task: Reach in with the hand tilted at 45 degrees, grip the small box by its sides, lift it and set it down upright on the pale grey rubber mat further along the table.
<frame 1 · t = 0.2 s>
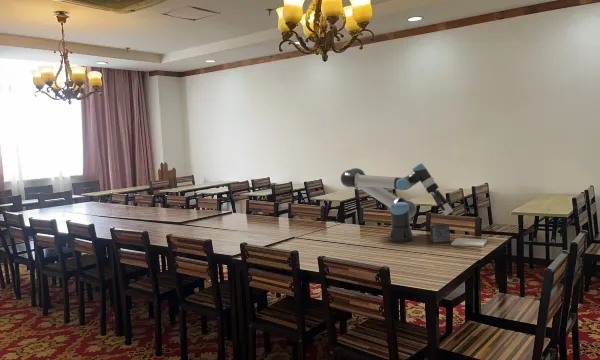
hand: (449, 213, 300), 15 cm above the table, tool tilted 30°, fingers open, 13 cm apart
mat: (469, 243, 283), on the table
small box: (440, 242, 291), on the table
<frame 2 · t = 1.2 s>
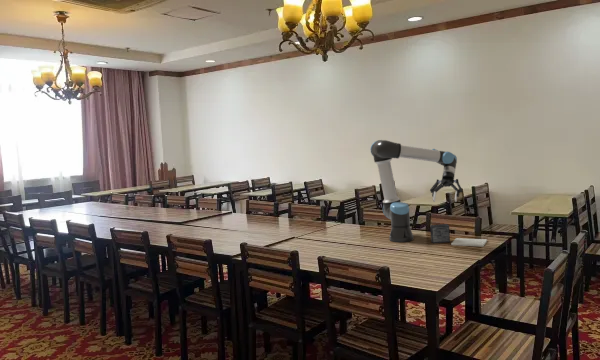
hand: (444, 200, 301), 23 cm above the table, tool tilted 45°, fingers open, 13 cm apart
nothing on the table moved.
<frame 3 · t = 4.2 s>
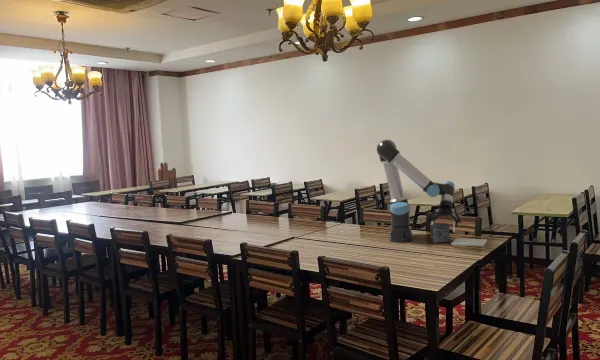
hand: (442, 231, 291), 6 cm above the table, tool tilted 45°, fingers open, 13 cm apart
small box: (440, 241, 291), on the table, touching gripper
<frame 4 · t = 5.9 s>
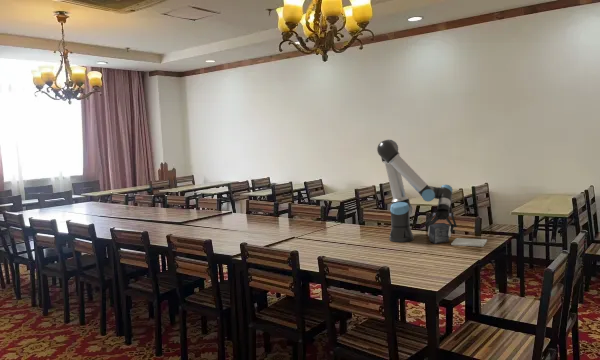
hand: (438, 235, 289), 4 cm above the table, tool tilted 45°, fingers closed on small box, 12 cm apart
small box: (438, 241, 291), on the table, touching gripper
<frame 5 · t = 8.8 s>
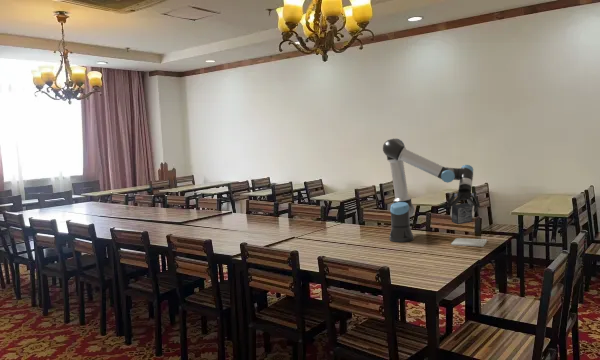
hand: (462, 216, 281), 17 cm above the table, tool tilted 45°, fingers closed on small box, 12 cm apart
small box: (461, 222, 283), point 13 cm above the table, touching gripper
when the fingers open (7 cm above the table, at t = 11.7 s): small box drops 2 cm, resting on mat.
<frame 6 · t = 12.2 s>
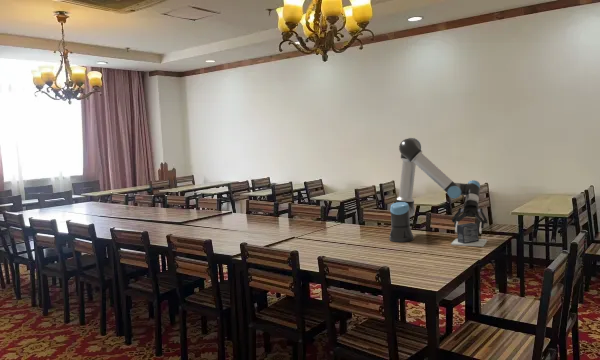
hand: (468, 232, 280), 7 cm above the table, tool tilted 45°, fingers open, 13 cm apart
small box: (468, 241, 282), point 1 cm above the table, touching mat
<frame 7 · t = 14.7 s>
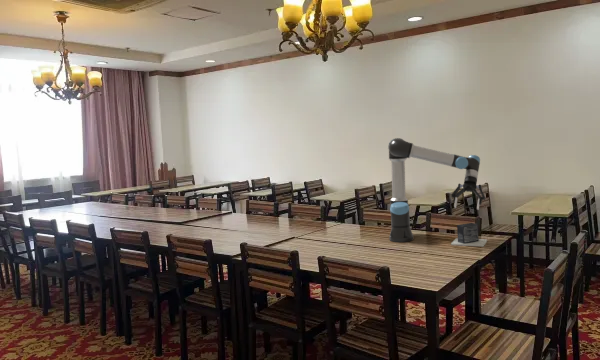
hand: (466, 208, 294), 19 cm above the table, tool tilted 35°, fingers open, 13 cm apart
nothing on the table moved.
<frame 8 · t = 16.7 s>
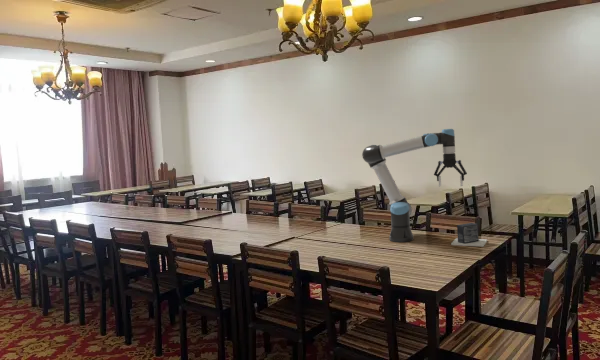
hand: (450, 186, 305), 32 cm above the table, tool pointing down, fingers open, 13 cm apart
nothing on the table moved.
at the end: small box inside the target area on the mat (0.9 cm from its centre), point 0.8 cm above the mat's base; small box tilted 0°; the gripper is holding nothing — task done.
